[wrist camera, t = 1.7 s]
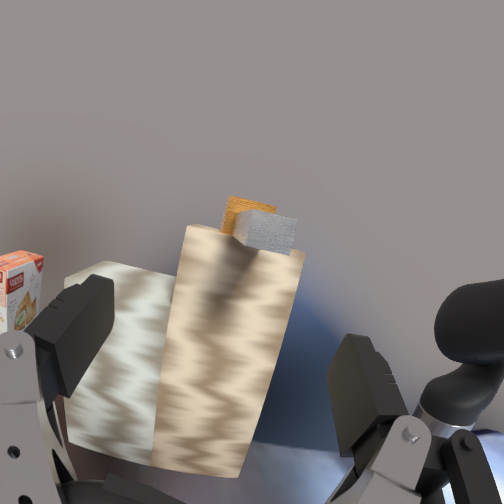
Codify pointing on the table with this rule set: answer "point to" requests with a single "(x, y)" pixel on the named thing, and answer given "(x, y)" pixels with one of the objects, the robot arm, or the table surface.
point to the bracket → (258, 225)
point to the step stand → (186, 356)
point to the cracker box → (19, 289)
